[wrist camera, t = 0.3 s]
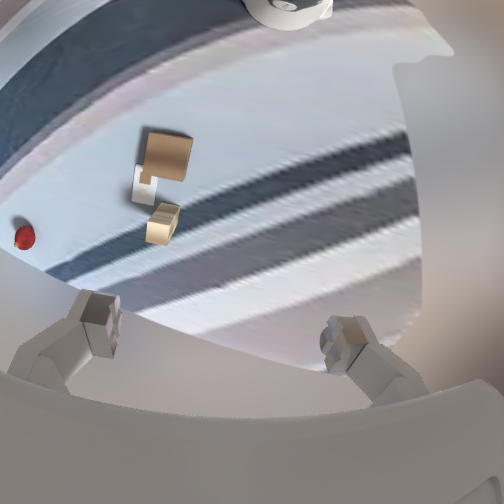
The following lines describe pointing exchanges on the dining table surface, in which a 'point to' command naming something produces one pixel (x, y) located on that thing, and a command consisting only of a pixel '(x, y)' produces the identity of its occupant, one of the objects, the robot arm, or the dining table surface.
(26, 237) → the red rounded piece
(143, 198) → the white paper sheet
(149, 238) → the pillar
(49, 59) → the dining table surface
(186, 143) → the plinth
